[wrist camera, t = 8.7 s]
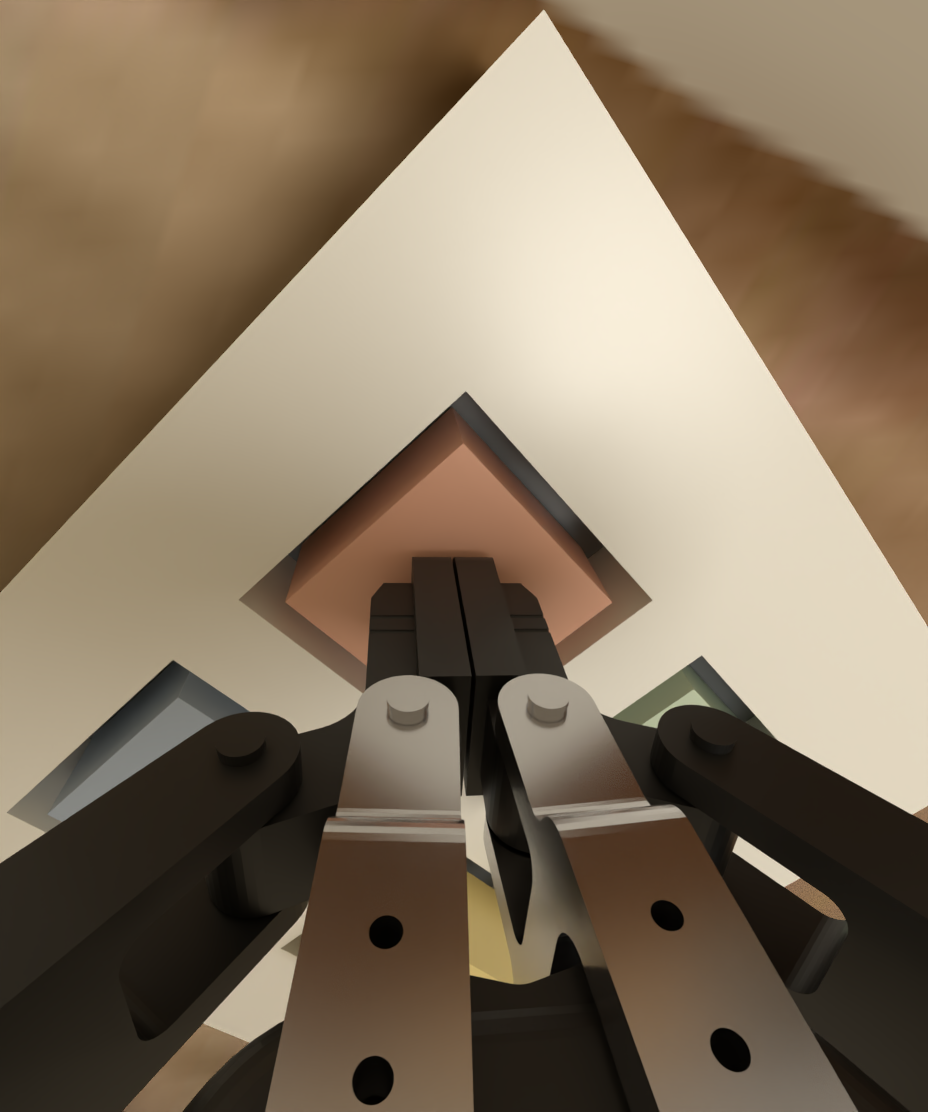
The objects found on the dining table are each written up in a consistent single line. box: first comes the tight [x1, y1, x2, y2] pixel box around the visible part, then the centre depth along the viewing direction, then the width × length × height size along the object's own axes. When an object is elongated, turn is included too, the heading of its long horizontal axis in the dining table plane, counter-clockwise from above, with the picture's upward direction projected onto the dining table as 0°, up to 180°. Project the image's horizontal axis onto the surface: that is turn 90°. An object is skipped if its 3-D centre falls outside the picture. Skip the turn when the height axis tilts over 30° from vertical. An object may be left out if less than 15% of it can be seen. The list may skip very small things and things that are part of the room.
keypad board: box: [0, 10, 928, 1043], centre depth 16 cm, size 19×21×4 cm
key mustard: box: [467, 872, 514, 984], centre depth 16 cm, size 4×4×2 cm
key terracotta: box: [285, 407, 612, 666], centre depth 13 cm, size 4×4×2 cm
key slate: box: [47, 661, 250, 822], centre depth 15 cm, size 4×4×2 cm
